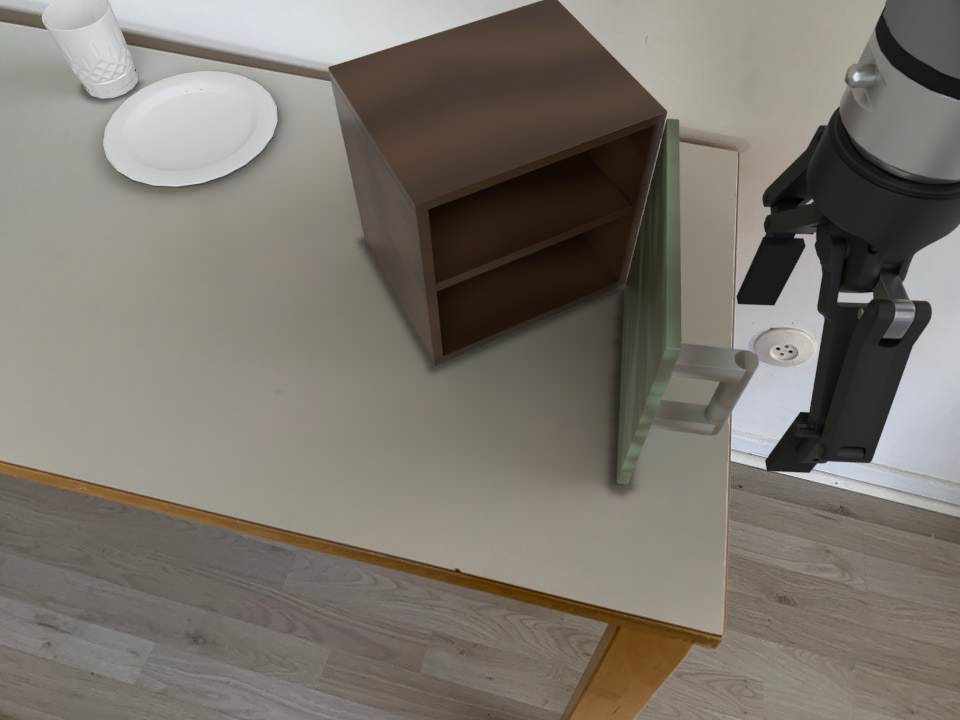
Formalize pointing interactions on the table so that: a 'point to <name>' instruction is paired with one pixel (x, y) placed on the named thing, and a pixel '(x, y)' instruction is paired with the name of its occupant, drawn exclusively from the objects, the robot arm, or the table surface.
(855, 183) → the robot arm
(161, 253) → the table surface
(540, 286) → the cupboard
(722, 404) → the cupboard door
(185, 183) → the plate
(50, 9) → the white cup
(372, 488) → the table surface
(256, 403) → the table surface
